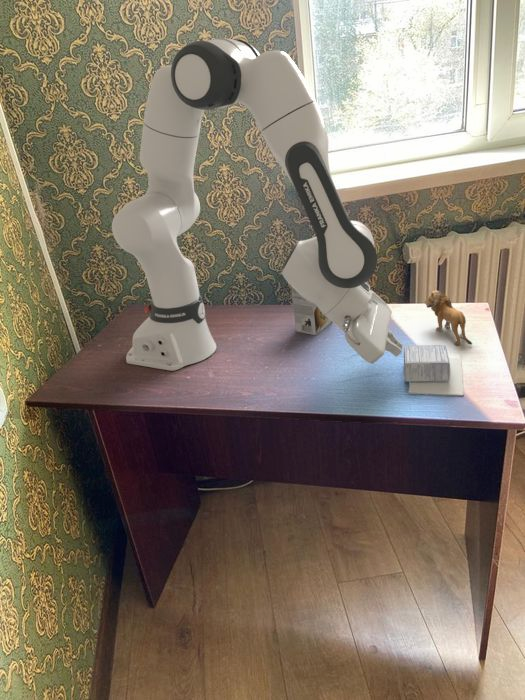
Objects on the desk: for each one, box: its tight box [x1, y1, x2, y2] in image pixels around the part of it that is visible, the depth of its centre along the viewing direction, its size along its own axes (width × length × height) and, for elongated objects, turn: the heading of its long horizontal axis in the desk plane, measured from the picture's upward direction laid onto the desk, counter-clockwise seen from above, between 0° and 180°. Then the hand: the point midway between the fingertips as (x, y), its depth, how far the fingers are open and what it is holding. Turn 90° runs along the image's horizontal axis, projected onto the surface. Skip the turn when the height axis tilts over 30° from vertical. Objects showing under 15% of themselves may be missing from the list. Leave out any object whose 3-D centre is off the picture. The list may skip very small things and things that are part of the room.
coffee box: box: [290, 285, 333, 336], centre depth 133 cm, size 9×6×16 cm
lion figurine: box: [423, 290, 473, 346], centre depth 122 cm, size 15×5×9 cm, turn 22°
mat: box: [408, 357, 464, 397], centre depth 109 cm, size 10×14×1 cm
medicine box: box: [403, 344, 450, 383], centre depth 109 cm, size 8×4×9 cm
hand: (399, 351), depth 109 cm, fingers closed
